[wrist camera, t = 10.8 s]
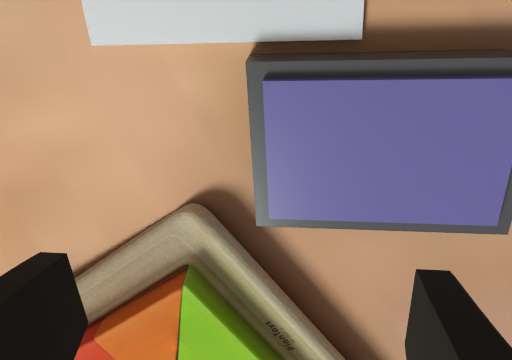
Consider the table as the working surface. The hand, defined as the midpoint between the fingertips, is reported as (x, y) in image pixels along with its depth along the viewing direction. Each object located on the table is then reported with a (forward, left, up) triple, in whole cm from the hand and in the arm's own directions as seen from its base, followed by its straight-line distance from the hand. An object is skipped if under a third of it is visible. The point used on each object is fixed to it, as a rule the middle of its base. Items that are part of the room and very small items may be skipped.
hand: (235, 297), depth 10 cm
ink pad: (-4, +1, -10) cm, 11 cm away
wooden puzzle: (+6, +16, -11) cm, 20 cm away
